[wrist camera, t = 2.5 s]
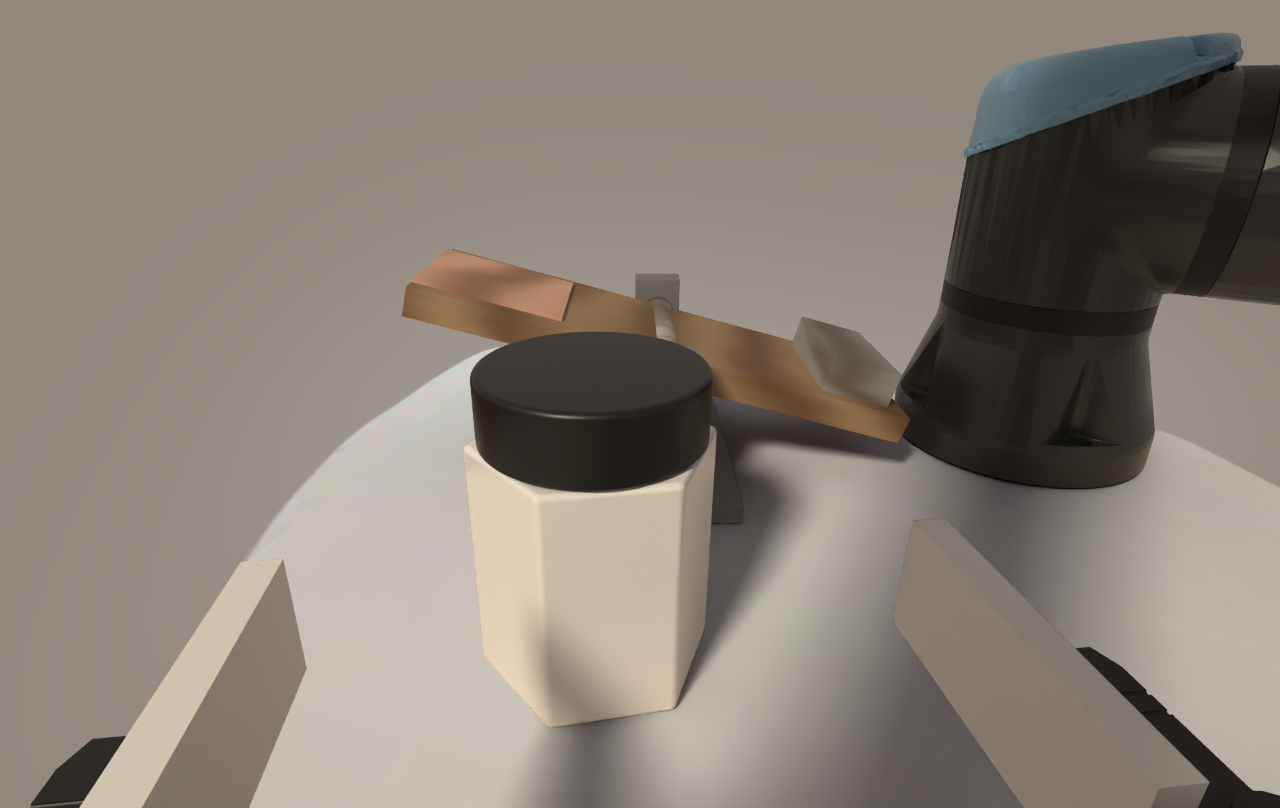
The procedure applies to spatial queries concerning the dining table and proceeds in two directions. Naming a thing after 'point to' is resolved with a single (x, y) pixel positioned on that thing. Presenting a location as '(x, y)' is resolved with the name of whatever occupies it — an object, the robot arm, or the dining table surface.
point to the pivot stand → (725, 486)
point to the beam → (672, 340)
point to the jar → (591, 519)
